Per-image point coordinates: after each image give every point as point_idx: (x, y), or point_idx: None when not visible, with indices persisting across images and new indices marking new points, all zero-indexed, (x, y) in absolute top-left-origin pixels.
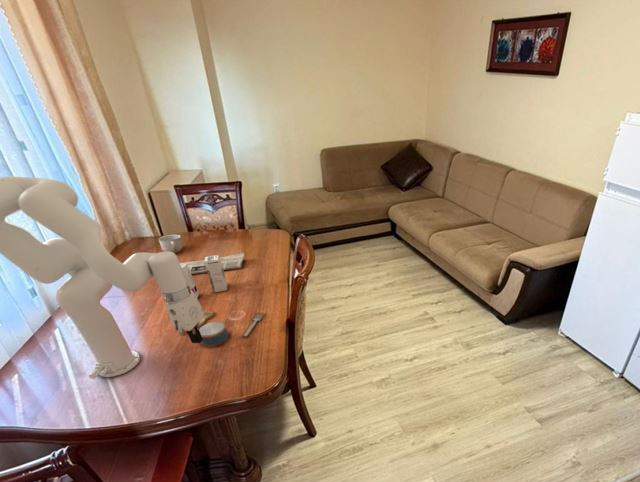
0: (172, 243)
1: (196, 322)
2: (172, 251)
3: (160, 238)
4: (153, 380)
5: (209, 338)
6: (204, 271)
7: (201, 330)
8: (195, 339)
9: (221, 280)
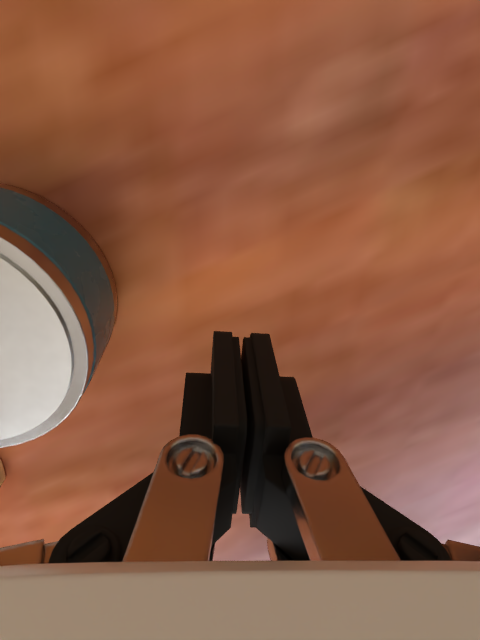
0: None
1: (348, 620)
2: None
3: None
4: (436, 462)
5: (88, 308)
6: None
7: (4, 422)
8: (298, 396)
9: None
